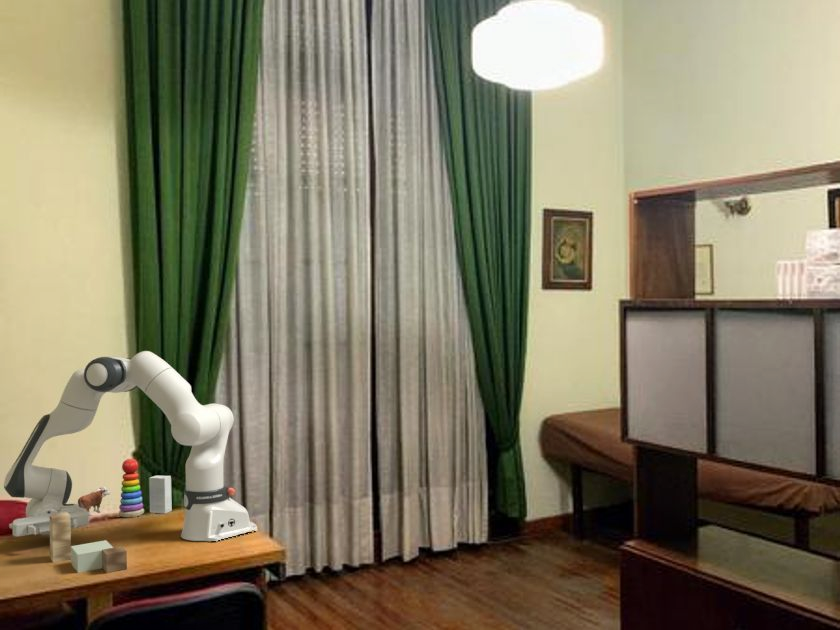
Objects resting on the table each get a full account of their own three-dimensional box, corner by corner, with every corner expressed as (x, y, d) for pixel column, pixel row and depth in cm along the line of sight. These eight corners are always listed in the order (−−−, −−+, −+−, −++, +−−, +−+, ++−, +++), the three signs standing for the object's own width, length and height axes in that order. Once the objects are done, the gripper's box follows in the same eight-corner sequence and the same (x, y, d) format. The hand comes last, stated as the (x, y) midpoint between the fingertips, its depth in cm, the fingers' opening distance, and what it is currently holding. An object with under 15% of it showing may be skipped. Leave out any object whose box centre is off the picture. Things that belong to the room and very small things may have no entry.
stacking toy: (148, 512, 261) (147, 456, 261) (137, 518, 253) (136, 461, 253) (126, 511, 262) (125, 456, 262) (114, 518, 254) (113, 461, 254)
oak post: (67, 555, 215) (67, 512, 215) (71, 559, 211) (70, 515, 211) (50, 558, 213) (49, 514, 213) (53, 562, 209) (52, 518, 209)
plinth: (106, 558, 213) (106, 540, 213) (114, 566, 205) (113, 548, 205) (71, 564, 208) (70, 546, 208) (77, 573, 200) (77, 554, 200)
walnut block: (122, 564, 206) (121, 546, 206) (126, 569, 202) (126, 550, 202) (102, 568, 204) (102, 549, 204) (106, 573, 199) (106, 554, 199)
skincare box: (172, 510, 262) (171, 475, 262) (165, 514, 258) (164, 478, 258) (156, 509, 264) (155, 475, 264) (149, 513, 260) (148, 477, 260)
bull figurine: (112, 509, 266) (112, 485, 266) (83, 519, 253) (83, 494, 253) (102, 508, 267) (101, 484, 267) (73, 518, 254) (72, 493, 254)
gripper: (7, 513, 224) (14, 523, 213) (83, 502, 236) (92, 511, 224) (8, 535, 224) (14, 546, 213) (83, 523, 236) (93, 533, 224)
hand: (55, 528), depth 219 cm, fingers open, 8 cm apart
